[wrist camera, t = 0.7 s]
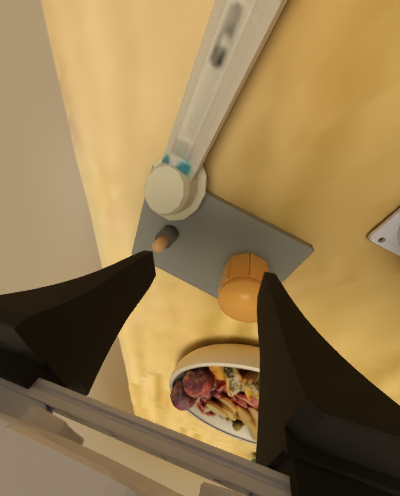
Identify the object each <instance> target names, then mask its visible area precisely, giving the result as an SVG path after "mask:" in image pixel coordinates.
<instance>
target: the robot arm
mask: <svg viewBox="0 0 400 496" xmlns="http://www.w3.org/2000/svg"><path fill="white" fill-rule="evenodd" d="M380 238H383V239H382V240H380V241H378V240H379V239H380ZM368 239H369V240H370V241H371V242H373V243H375V244H377V245H379V246H381V247H383V248H385V249H387V250H388V251H390V252H392V253H394V254H396V255H398V256H400V208H399V209H398V210H397V211H396V212H394V213H393V214H392V215H391V216H390V217H389V218H387V219H386V220H385V221H384V222H383V223H381V224H380V225H379V226H378V227H377V228H376V229H374V230H373V231H372V232H371V233H370V234H369V235H368ZM155 276H156V273H155V265H154V257H153V251H147V250H144V251H141V252H139V253H136V254H134V255H132V256H130V257H128V258H126V259H124V260H121V261H119V262H117V263H115V264H113V265H110V266H108V267H106V268H103V269H101V270H99V271H96V272H94V273H91V274H88V275H85V276H83V277H79V278H76V279H73V280H69V281H66V282H62V283H59V284H55V285H50V286H46V287H42V288H37V289H32V290H28V291H21V292H15V293H10V294H3V295H0V496H183V495H181V494H179V493H177V492H175V491H173V490H171V489H169V488H167V487H165V486H163V485H161V484H160V483H158V482H156V481H154V480H152V479H150V478H148V477H146V476H144V475H142V474H140V473H138V472H136V471H134V470H132V469H130V468H128V467H126V466H124V465H122V464H120V463H118V462H116V461H114V460H112V459H110V458H108V457H106V456H104V455H102V454H99V453H97V452H95V451H93V450H91V449H89V448H86V447H84V446H82V444H83V442H84V439H83V438H82V437H81V436H80V435H78V434H77V433H75V432H74V431H73V430H72V429H71V428H70V427H69V426H68V425H67V423H66V422H65V421H63V420H62V419H60V418H58V417H56V416H55V415H53V412H55V413H58V414H60V415H62V416H64V417H67V418H69V419H71V420H74V421H76V422H78V423H80V424H83V425H85V426H87V427H90V428H92V429H94V430H96V431H99V432H101V433H103V434H106V435H108V436H110V437H113V438H115V439H117V440H119V441H122V442H124V443H126V444H129V445H131V446H133V447H136V448H138V449H140V450H142V451H145V452H147V453H149V454H152V455H154V456H156V457H158V458H161V459H163V460H165V461H168V462H170V463H172V464H174V465H177V466H179V467H181V468H184V469H186V470H188V471H191V472H193V473H195V474H197V475H200V476H202V477H204V478H207V479H209V480H211V481H214V482H216V483H218V484H220V485H223V486H225V487H227V488H230V489H232V490H230V489H226V488H223V487H219V486H216V485H212V484H209V483H206V482H203V483H202V484H201V488H200V494H199V496H244V495H246V496H400V406H399V405H398V404H397V403H396V402H394V401H393V400H392V399H391V398H390V397H388V396H387V395H386V394H385V393H383V392H382V391H381V390H380V389H378V388H377V387H376V386H375V385H373V384H372V383H371V382H370V381H369V380H368V379H366V378H365V377H364V376H363V375H362V374H361V373H360V372H358V371H357V370H356V369H355V368H354V367H353V366H352V365H351V364H349V363H348V362H347V361H346V360H345V359H344V358H343V357H342V356H341V355H340V354H339V353H338V352H337V351H336V350H335V349H334V348H333V347H332V346H331V345H330V344H329V343H328V342H327V341H326V340H325V339H324V338H323V337H322V336H321V335H320V334H319V333H318V332H317V331H316V329H315V328H314V327H313V326H312V325H311V324H310V323H309V321H308V320H307V319H306V318H305V317H304V315H303V314H302V313H301V311H300V310H299V309H298V307H297V306H296V305H295V303H294V302H293V300H292V299H291V297H290V296H289V295H288V293H287V291H286V290H285V288H284V287H283V285H282V283H281V282H280V280H279V278H278V277H277V275H276V274H275V273H270V272H264V274H263V278H262V281H261V285H260V289H259V292H258V296H257V324H258V336H259V349H260V376H259V407H258V429H257V448H256V463H254V462H252V461H249V460H247V459H244V458H242V457H239V456H237V455H234V454H232V453H229V452H227V451H224V450H222V449H219V448H216V447H214V446H211V445H209V444H206V443H204V442H201V441H199V440H196V439H194V438H191V437H189V436H186V435H184V434H181V433H178V432H176V431H173V430H171V429H168V428H166V427H163V426H161V425H158V424H156V423H153V422H151V421H148V420H146V419H143V418H140V417H138V416H135V415H133V414H130V413H128V412H125V411H123V410H120V409H118V408H115V407H113V406H110V405H107V404H105V403H102V402H100V401H97V400H95V399H92V398H90V397H87V395H88V394H89V391H90V389H91V387H92V385H93V383H94V380H95V378H96V376H97V374H98V372H99V370H100V368H101V365H102V363H103V362H104V360H105V358H106V356H107V354H108V352H109V350H110V348H111V346H112V344H113V342H114V340H115V339H116V337H117V335H118V333H119V332H120V330H121V328H122V327H123V325H124V323H125V321H126V320H127V318H128V317H129V315H130V314H131V312H132V311H133V310H134V308H135V307H136V306H137V304H138V303H139V301H140V300H141V299H142V297H143V296H144V295H145V293H146V292H147V290H148V289H149V287H150V286H151V284H152V282H153V280H154V278H155ZM52 411H53V412H52ZM233 490H234V491H233ZM235 491H236V492H235ZM238 492H239V493H238ZM240 493H241V494H240ZM242 494H243V495H242Z"/></svg>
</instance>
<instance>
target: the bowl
mask: <svg viewBox="0 0 400 496" xmlns="http://www.w3.org/2000/svg"><path fill="white" fill-rule="evenodd" d="M259 376H260V349H259V347H256V346H251V345H244V344H214V345H208V346H204V347H201V348H198V349H196V350H194V351H192V352H190V353H188V354H187V355H186V356H185V357H183V358H182V359H181V360H180V361H179V363H178V364H177V365H176V367H175V369H174V371H173V373H172V376H171V379H170V383H169V386H170V391H171V395H170V397H171V401H172V403H173V406H174V407H176V408H177V409H179V410H183V411H184V410H185V411H187V412H188V413H189V414H190V415H192V416H193V417H194V418H196V419H197V420H199V421H201V422H202V423H204V424H205V425H207V426H209V427H211V428H213V429H215V430H217V431H219V432H221V433H223V434H226V435H228V436H230V437H233V438H236V439H238V440H241V441H244V442H247V443H250V444H254V445H257V429H258V407H259Z"/></svg>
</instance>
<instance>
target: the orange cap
mask: <svg viewBox="0 0 400 496" xmlns="http://www.w3.org/2000/svg"><path fill="white" fill-rule="evenodd" d="M264 272H269V268H268V264H267V262H266V261H265V260H264V259H262V258H260V257H258V256H256V255H254V254H252V253H245V254H239V255H234V256H231V258H230V259H229V261H228V262H227V264H226V265H225V267H224V269H223V273H222V277H221V281H220V286H219V290H218V293H219V298H218V303H219V306H220V308H221V310H222V311H223V312H224V313H225V314H226V315H227V316H229V317H231V318H233V319H235V320H237V321H241V322H257V296H258V292H259V289H260V285H261V281H262V278H263V274H264Z"/></svg>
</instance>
